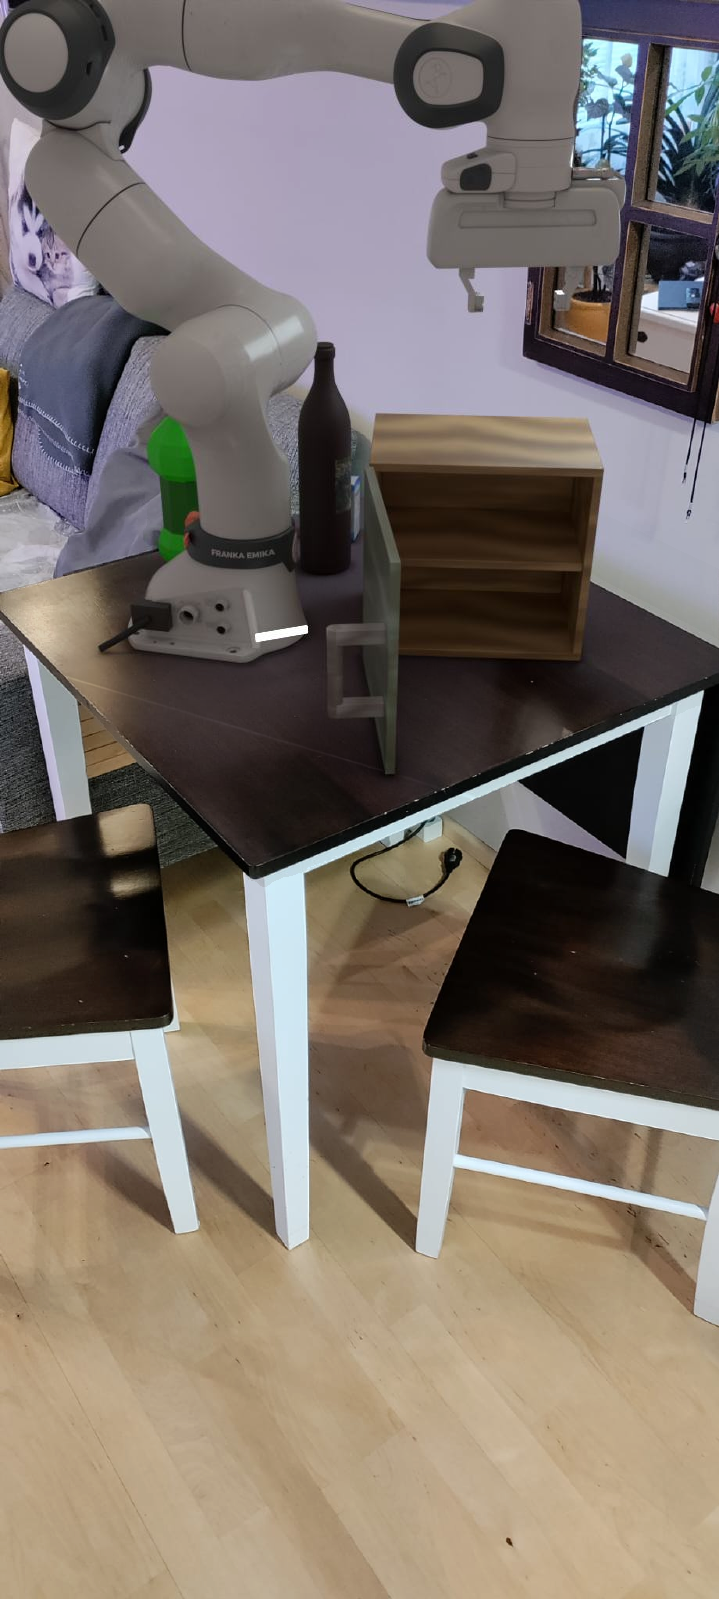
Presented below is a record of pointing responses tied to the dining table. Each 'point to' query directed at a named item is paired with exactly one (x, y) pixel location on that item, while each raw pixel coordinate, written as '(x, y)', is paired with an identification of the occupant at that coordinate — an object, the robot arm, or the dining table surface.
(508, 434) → the cupboard
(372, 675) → the door
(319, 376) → the wine bottle
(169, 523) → the plastic bottle
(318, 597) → the dining table surface
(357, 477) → the medicine box
